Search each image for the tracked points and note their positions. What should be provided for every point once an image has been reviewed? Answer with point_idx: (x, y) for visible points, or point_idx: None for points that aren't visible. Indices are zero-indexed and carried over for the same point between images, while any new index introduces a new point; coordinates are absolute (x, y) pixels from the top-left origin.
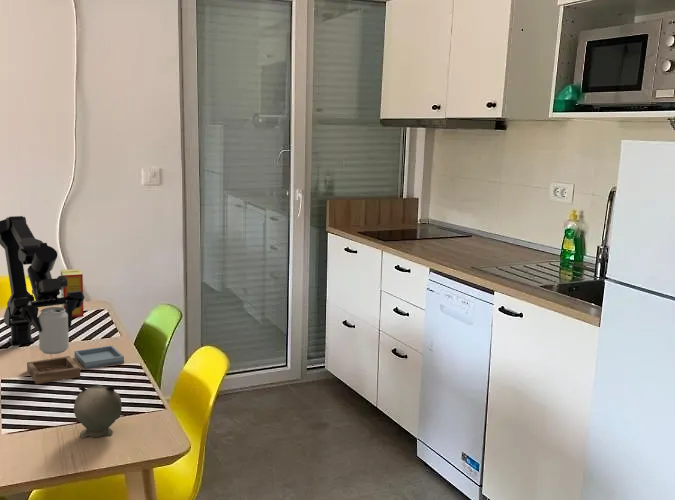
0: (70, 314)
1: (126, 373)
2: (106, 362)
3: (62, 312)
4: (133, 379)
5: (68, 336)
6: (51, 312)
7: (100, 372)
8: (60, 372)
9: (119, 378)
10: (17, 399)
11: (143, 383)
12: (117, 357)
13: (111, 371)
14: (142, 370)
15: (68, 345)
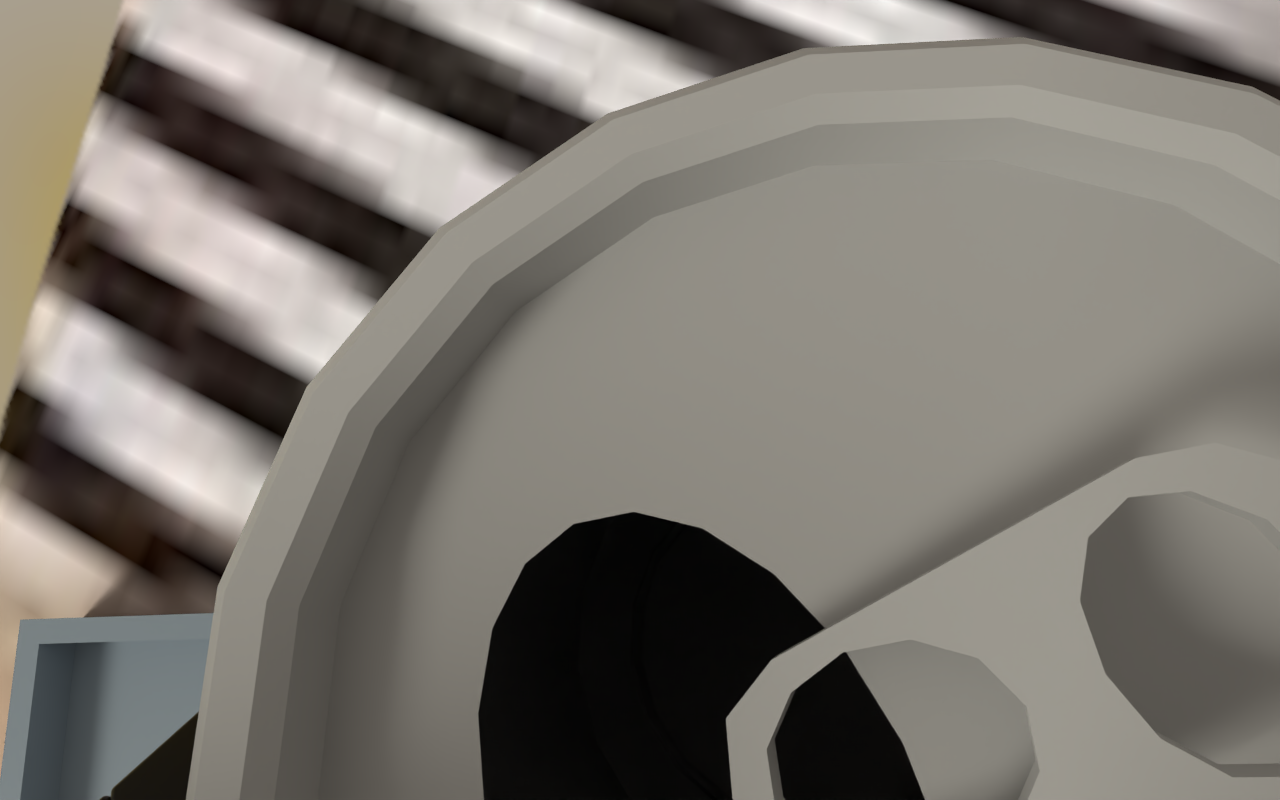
0: (154, 795)
1: (182, 313)
2: None
3: (491, 250)
4: (191, 149)
5: (536, 590)
6: (1047, 571)
7: None
8: None
9: (280, 217)
10: (1231, 64)
11: (163, 37)
12: (90, 618)
13: (274, 424)
14: (37, 329)
15: (585, 570)
